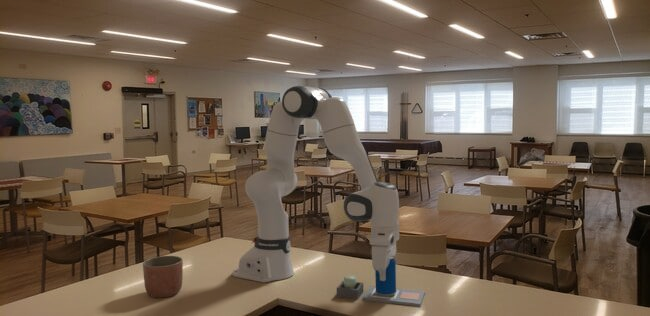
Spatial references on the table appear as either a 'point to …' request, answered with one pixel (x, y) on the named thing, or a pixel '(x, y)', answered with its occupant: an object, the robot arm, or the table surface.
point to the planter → (163, 275)
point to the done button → (350, 282)
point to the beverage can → (387, 280)
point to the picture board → (396, 296)
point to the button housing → (350, 291)
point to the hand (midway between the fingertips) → (385, 276)
